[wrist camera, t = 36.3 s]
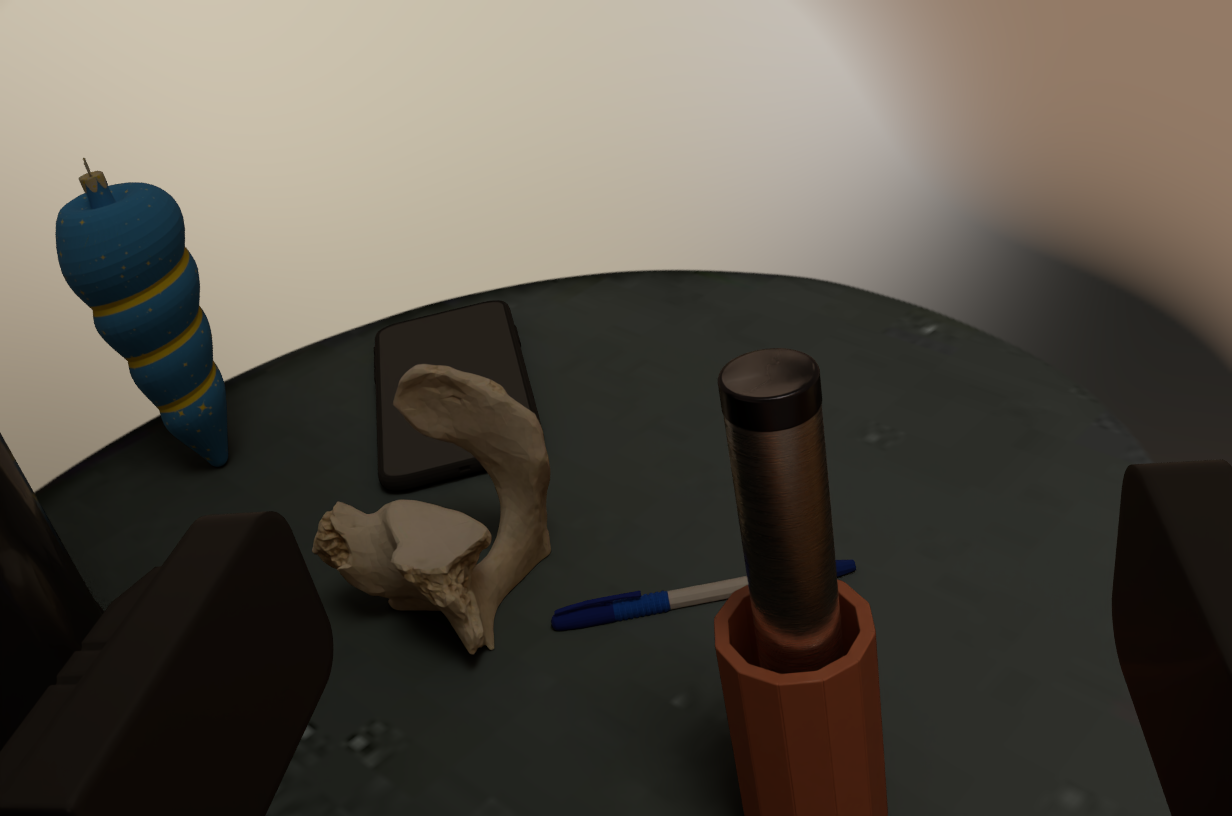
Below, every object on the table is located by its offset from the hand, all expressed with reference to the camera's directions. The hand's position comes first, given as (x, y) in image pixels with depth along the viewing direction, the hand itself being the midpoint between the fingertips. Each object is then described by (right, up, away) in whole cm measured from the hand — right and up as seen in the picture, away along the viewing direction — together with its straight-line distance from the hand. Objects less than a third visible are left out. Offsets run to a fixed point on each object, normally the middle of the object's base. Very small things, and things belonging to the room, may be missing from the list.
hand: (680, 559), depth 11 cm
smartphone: (-8, +2, +42) cm, 43 cm away
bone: (-6, -6, +28) cm, 30 cm away
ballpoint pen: (+2, -5, +27) cm, 28 cm away
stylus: (+5, -9, +18) cm, 21 cm away
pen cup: (+5, -10, +19) cm, 21 cm away
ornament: (-19, -1, +40) cm, 44 cm away
